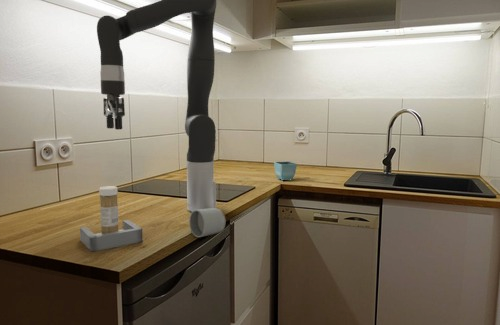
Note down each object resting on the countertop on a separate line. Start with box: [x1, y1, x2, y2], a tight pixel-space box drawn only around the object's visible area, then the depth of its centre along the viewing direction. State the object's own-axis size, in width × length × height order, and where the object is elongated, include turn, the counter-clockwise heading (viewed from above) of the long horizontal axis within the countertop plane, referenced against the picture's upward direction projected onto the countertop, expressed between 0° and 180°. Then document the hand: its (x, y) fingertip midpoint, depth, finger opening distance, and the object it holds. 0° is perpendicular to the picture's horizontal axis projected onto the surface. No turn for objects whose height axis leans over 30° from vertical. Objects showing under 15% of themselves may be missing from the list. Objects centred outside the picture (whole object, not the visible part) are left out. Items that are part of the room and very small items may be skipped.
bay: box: [79, 219, 144, 253], centre depth 103 cm, size 13×10×4 cm
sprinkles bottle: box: [98, 185, 119, 234], centre depth 103 cm, size 5×5×13 cm
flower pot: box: [273, 161, 297, 181], centre depth 195 cm, size 9×9×9 cm
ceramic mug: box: [189, 207, 227, 238], centre depth 110 cm, size 11×8×8 cm
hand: (114, 128), depth 131 cm, fingers open, 8 cm apart
